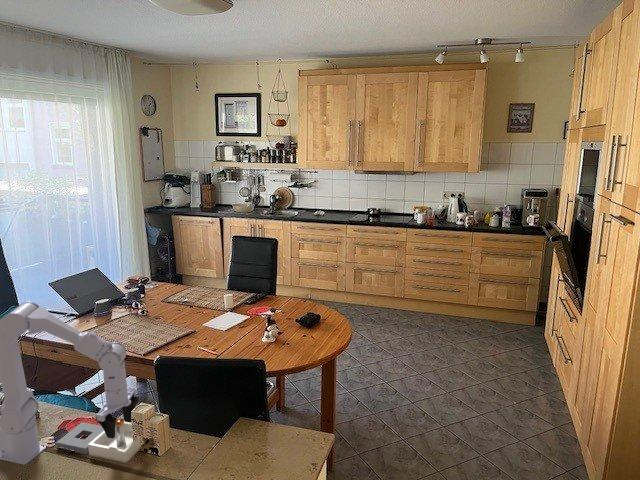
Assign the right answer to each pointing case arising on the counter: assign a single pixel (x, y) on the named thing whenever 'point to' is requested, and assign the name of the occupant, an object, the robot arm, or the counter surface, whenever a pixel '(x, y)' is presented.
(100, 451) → the tray
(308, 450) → the counter surface
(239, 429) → the counter surface
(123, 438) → the lock pin
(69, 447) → the lock plate
